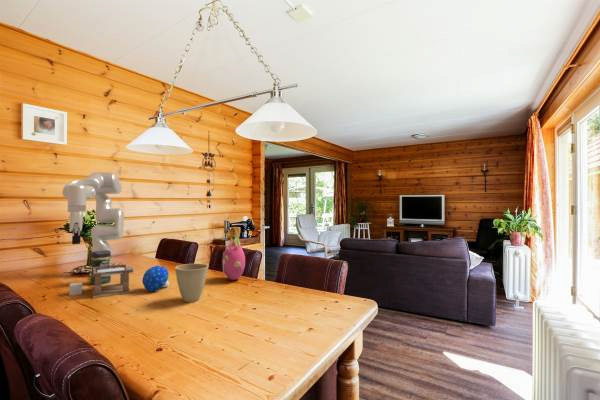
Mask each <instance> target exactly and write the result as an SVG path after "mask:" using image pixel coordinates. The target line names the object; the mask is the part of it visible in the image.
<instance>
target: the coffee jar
mask: <svg viewBox="0 0 600 400" xmlns="http://www.w3.org/2000/svg"><path fill="white" fill-rule="evenodd" d="M111 253H112V252H111V250H110V251H108V250H101V251H94V252H93V251H92V252H91V255H90V260H91V272H90V273H91V276H90V281H89V282H90V284H91V285H93V286H94V280H95V276H94V273H93V267H103V266H111V258H112V254H111ZM106 269H111V268H106ZM100 270H102V269H100ZM111 276H112V275H107V276H101V285H102V284H108V283H110V282H111V281H112V280H111Z"/></svg>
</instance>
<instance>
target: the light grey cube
mask: <svg viewBox="0 0 600 400" xmlns="http://www.w3.org/2000/svg"><path fill="white" fill-rule="evenodd" d="M78 294H79V295H83V282H82V281H81V282H73V283H69V296H70V297H71V295H72V296H78Z"/></svg>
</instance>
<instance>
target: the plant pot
mask: <svg viewBox="0 0 600 400" xmlns="http://www.w3.org/2000/svg"><path fill="white" fill-rule="evenodd" d="M208 268H209V265H208V264H206V263H205V264H204V263H186V264H181V265H180V264H178V265H176V266H175V276H176V282H177V286H178V290H179V292H180V296H181V298H182V301H183V302H185V303H194V302H198V301H199V300H200V298H201V296H202V293H203V292H204V291H203V290H204V287H205V284H206V280H207V274H208Z"/></svg>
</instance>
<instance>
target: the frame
mask: <svg viewBox="0 0 600 400" xmlns="http://www.w3.org/2000/svg"><path fill="white" fill-rule="evenodd" d="M121 267H124V268H125V267H127V264H126V263H123V264H115V265H110V266H103V267H93V273H94V276H95V280H94V285H93V287H92V299H98V298H99V299H101V298H105V297H113V296H119V295H125V294H131V288H130V284H129V283H130V273H129V269H126V270H119V271H110V272H98V273H97V270H100V269H106V268H110V269H112V268H121ZM114 273H123V274H119V277H120V278H119V279H120V281H119V283H115V284H107V285H106V284H105V285H102V284H101V275H105V274H114Z"/></svg>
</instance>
